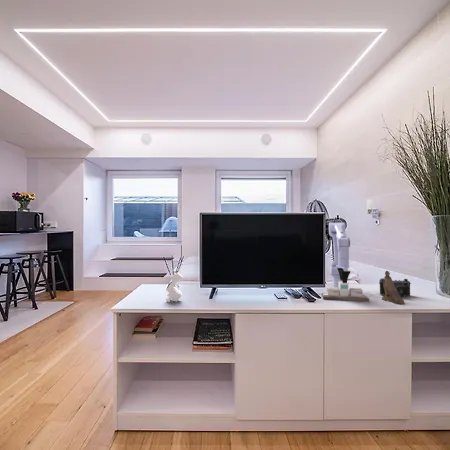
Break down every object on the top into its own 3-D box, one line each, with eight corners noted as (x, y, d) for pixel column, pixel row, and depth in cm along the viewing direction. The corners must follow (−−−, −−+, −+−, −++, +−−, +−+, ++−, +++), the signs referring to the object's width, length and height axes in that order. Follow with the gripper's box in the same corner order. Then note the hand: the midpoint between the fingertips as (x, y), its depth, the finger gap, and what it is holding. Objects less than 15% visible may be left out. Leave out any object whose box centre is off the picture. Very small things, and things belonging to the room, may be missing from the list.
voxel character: (159, 290, 171) (174, 269, 170) (175, 302, 171) (191, 281, 170) (156, 293, 163) (172, 271, 163) (173, 306, 163) (189, 284, 163)
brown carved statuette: (381, 303, 168) (376, 271, 172) (389, 302, 169) (384, 271, 173) (397, 304, 157) (391, 270, 160) (406, 304, 158) (400, 269, 162)
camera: (383, 298, 171) (383, 280, 171) (377, 294, 180) (377, 277, 180) (416, 298, 169) (416, 281, 169) (408, 294, 178) (408, 278, 178)
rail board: (321, 295, 178) (321, 285, 178) (364, 297, 173) (364, 287, 173) (323, 299, 168) (323, 289, 168) (369, 301, 163) (369, 291, 163)
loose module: (338, 293, 174) (338, 281, 174) (346, 293, 173) (346, 281, 173) (340, 295, 169) (340, 283, 168) (348, 296, 168) (348, 283, 168)
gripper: (334, 256, 180) (334, 278, 180) (338, 259, 166) (338, 283, 166) (346, 256, 179) (346, 279, 179) (351, 260, 165) (351, 284, 165)
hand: (343, 281), depth 173 cm, fingers open, 7 cm apart
